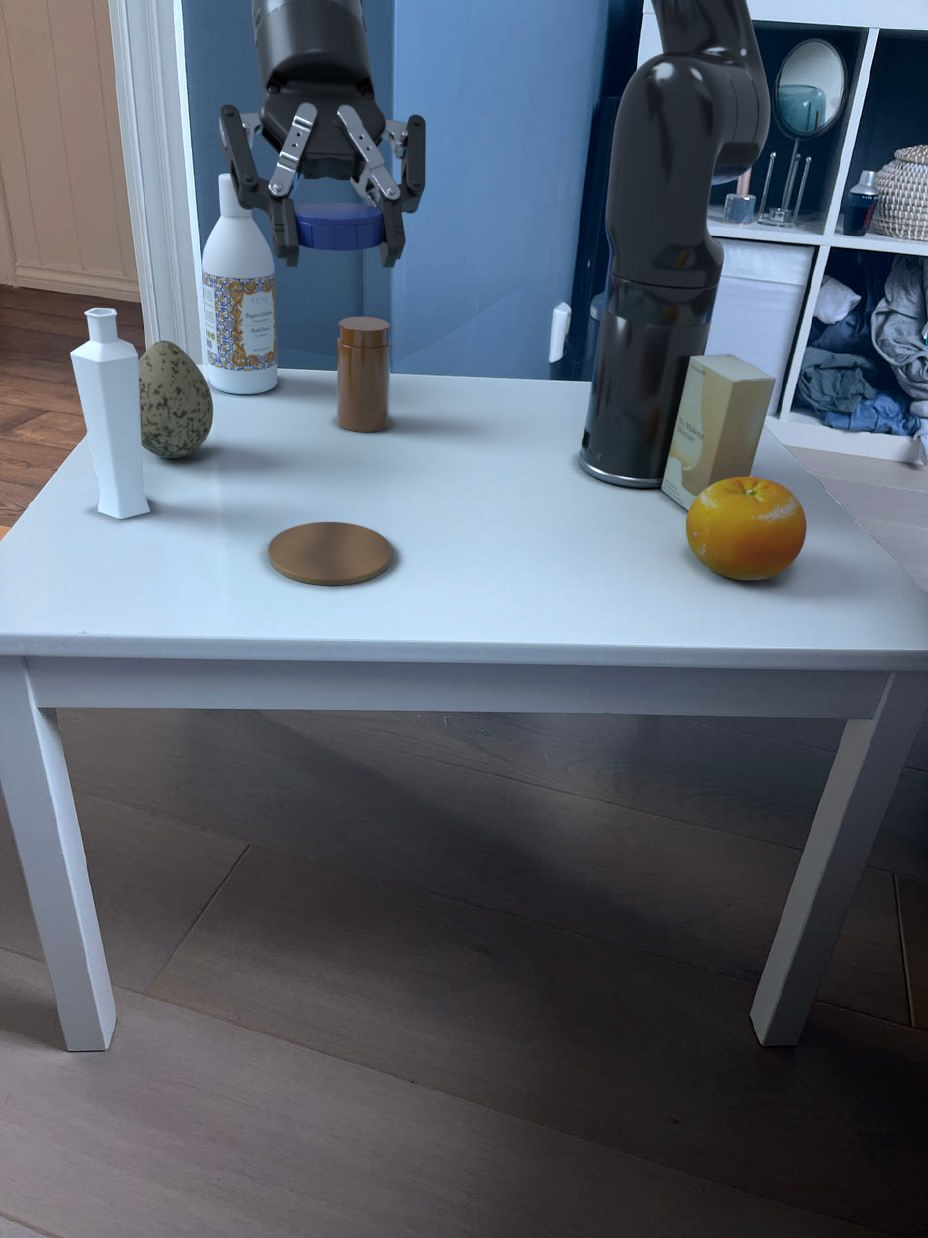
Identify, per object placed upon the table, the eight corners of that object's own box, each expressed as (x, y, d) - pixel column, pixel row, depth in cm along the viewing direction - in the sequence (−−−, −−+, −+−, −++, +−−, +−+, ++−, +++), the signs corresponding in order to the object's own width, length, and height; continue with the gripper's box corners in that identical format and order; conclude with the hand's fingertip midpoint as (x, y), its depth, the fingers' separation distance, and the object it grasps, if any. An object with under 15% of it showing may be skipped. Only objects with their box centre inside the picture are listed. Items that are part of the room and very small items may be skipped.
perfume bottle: (139, 525, 73) (116, 324, 65) (85, 516, 74) (56, 316, 66) (167, 500, 77) (149, 308, 69) (116, 492, 78) (91, 300, 70)
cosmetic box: (658, 490, 86) (685, 353, 79) (699, 486, 87) (729, 351, 81) (701, 522, 81) (733, 379, 74) (743, 516, 83) (778, 375, 76)
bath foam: (233, 400, 97) (222, 183, 86) (196, 380, 101) (181, 171, 91) (291, 388, 101) (287, 180, 91) (253, 369, 105) (245, 168, 95)
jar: (381, 412, 97) (385, 315, 92) (393, 431, 93) (397, 330, 88) (332, 414, 96) (332, 316, 91) (342, 433, 92) (343, 331, 87)
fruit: (654, 499, 75) (729, 436, 70) (731, 524, 80) (806, 466, 74) (681, 591, 71) (762, 531, 66) (760, 612, 76) (842, 558, 70)
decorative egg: (158, 434, 88) (147, 323, 83) (230, 448, 87) (224, 336, 82) (113, 463, 82) (99, 345, 77) (190, 478, 81) (180, 359, 76)
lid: (275, 238, 64) (273, 207, 63) (343, 228, 68) (342, 198, 67) (332, 254, 61) (331, 222, 60) (400, 242, 64) (400, 212, 63)
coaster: (376, 523, 76) (377, 517, 76) (405, 579, 69) (405, 573, 69) (260, 531, 74) (260, 525, 73) (277, 591, 67) (277, 584, 66)
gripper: (402, 87, 72) (435, 292, 69) (202, 74, 68) (227, 292, 65) (424, 3, 65) (462, 228, 62) (202, -17, 61) (230, 223, 58)
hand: (341, 259), depth 63 cm, fingers closed on lid, 6 cm apart
